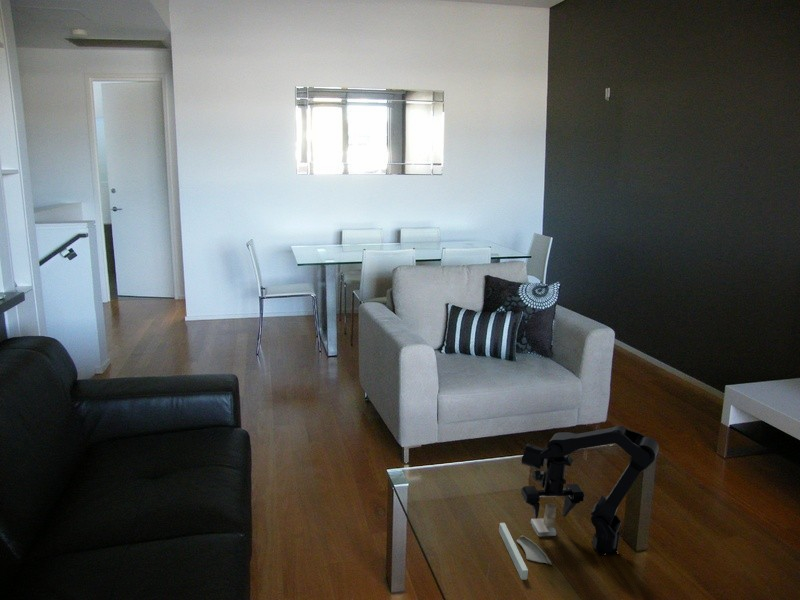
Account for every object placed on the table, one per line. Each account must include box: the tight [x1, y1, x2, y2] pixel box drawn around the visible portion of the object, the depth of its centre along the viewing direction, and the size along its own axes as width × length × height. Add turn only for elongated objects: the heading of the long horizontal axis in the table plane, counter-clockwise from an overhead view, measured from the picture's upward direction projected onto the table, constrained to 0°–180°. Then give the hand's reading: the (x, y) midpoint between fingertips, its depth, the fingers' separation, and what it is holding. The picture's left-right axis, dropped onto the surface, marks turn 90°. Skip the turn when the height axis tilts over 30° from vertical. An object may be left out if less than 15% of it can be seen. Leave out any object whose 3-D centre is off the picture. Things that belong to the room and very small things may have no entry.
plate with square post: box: [530, 502, 557, 537], centre depth 206 cm, size 6×7×9 cm
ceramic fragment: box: [515, 535, 553, 567], centre depth 194 cm, size 14×5×4 cm, turn 32°
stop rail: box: [498, 522, 529, 581], centre depth 194 cm, size 2×22×3 cm, turn 9°
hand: (549, 517), depth 206 cm, fingers open, 9 cm apart
